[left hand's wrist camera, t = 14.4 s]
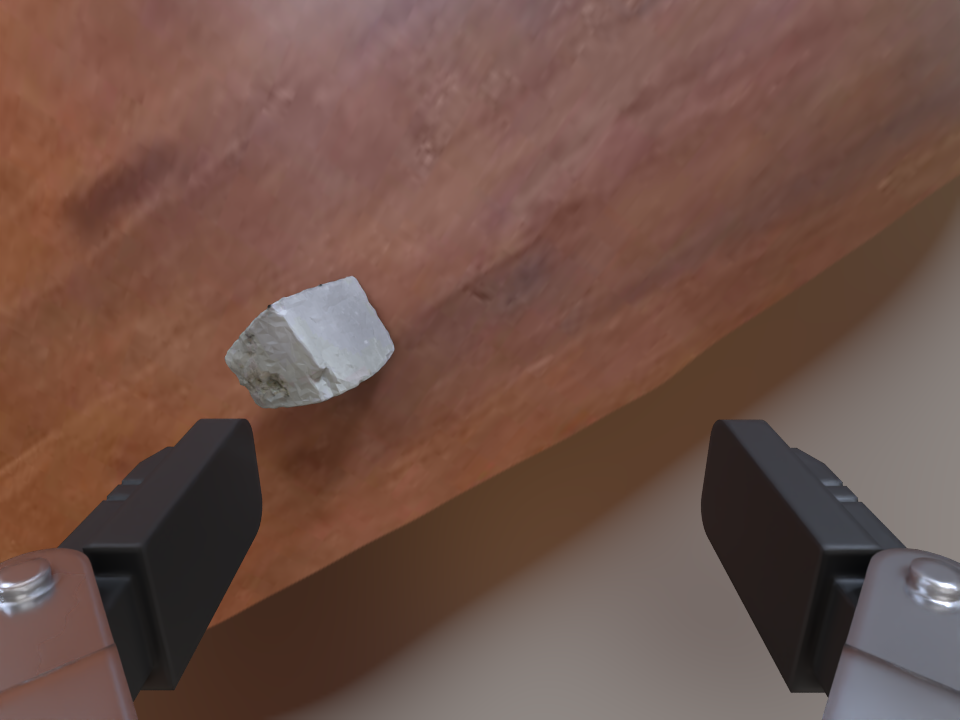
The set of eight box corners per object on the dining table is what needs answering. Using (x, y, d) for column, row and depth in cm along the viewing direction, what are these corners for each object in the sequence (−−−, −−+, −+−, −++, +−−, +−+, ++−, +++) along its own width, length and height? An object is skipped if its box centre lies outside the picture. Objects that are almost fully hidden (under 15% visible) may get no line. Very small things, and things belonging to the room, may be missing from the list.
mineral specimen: (315, 232, 39) (305, 285, 32) (404, 331, 43) (411, 397, 36) (224, 301, 40) (194, 367, 33) (319, 391, 44) (310, 466, 37)
